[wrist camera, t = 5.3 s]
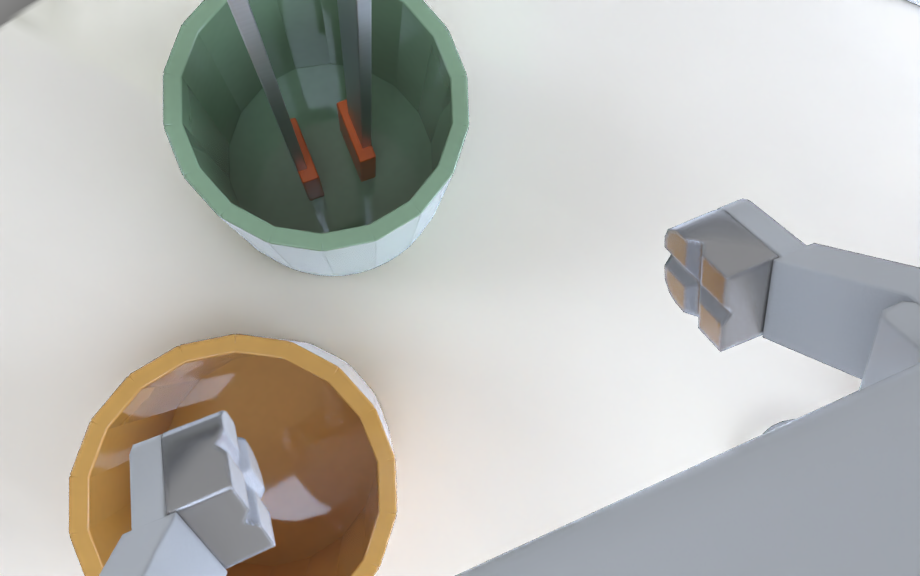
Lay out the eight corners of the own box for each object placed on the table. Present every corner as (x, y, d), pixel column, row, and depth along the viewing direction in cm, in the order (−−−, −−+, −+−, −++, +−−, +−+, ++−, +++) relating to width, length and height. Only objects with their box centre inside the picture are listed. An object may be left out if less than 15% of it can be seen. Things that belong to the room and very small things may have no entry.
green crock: (394, 29, 34) (402, -84, 25) (476, 230, 34) (513, 188, 25) (185, 100, 33) (116, 7, 24) (268, 311, 32) (229, 296, 24)
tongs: (354, 123, 33) (320, -322, 11) (376, 177, 33) (384, -166, 11) (288, 146, 32) (118, -269, 11) (309, 201, 32) (182, -106, 11)
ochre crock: (339, 304, 33) (327, 287, 24) (424, 517, 33) (444, 579, 24) (119, 390, 31) (19, 406, 23) (204, 613, 31) (138, 719, 22)
